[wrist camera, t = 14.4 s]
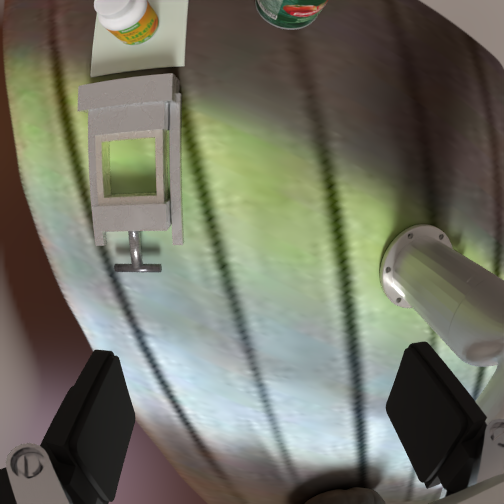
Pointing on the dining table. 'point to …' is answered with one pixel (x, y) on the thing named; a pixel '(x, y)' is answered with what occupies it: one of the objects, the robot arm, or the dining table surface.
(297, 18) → the canned tomato
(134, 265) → the vise
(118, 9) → the supplement bottle
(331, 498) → the gourd
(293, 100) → the dining table surface
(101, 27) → the pad
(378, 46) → the dining table surface
